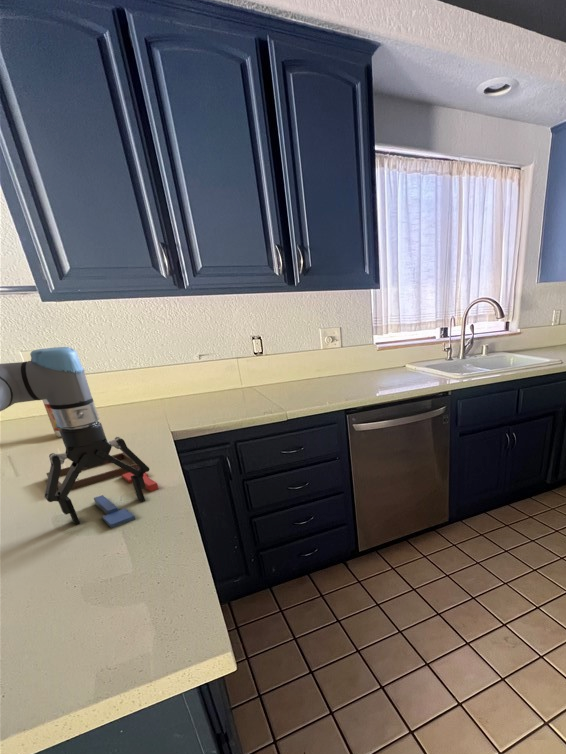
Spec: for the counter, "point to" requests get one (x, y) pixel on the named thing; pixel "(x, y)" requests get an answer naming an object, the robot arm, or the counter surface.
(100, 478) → the tray
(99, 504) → the blue stepped block
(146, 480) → the red t-shaped block
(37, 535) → the counter surface
